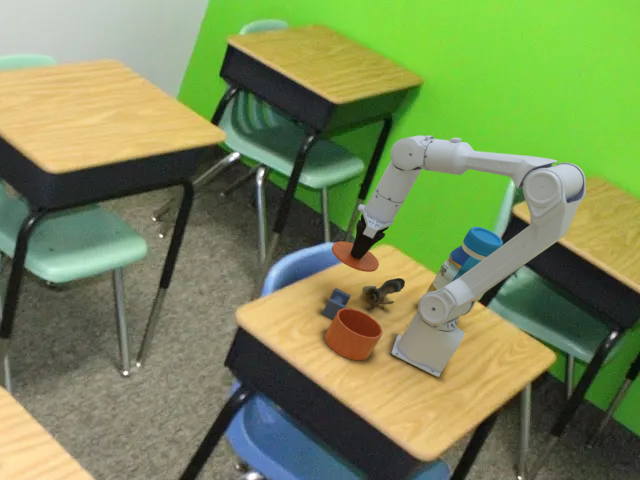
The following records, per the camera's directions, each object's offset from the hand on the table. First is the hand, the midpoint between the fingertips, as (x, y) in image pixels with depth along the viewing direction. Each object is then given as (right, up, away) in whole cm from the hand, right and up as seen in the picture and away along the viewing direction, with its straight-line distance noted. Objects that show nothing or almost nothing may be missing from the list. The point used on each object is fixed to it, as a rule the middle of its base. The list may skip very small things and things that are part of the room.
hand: (357, 253), depth 183 cm
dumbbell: (-5, -11, +1) cm, 12 cm away
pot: (-5, -18, -8) cm, 20 cm away
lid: (0, -1, +1) cm, 1 cm away
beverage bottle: (+20, -12, +11) cm, 26 cm away
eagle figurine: (+6, -10, +8) cm, 14 cm away
